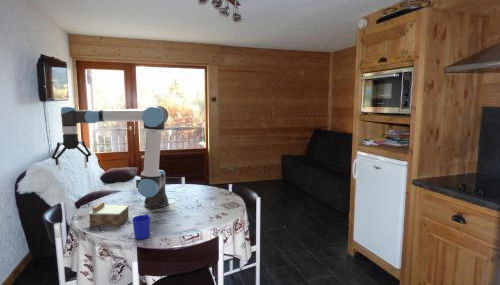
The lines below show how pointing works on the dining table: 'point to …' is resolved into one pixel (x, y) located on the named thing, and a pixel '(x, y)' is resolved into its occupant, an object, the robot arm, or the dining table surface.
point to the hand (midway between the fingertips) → (73, 169)
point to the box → (109, 219)
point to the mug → (141, 226)
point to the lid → (108, 209)
